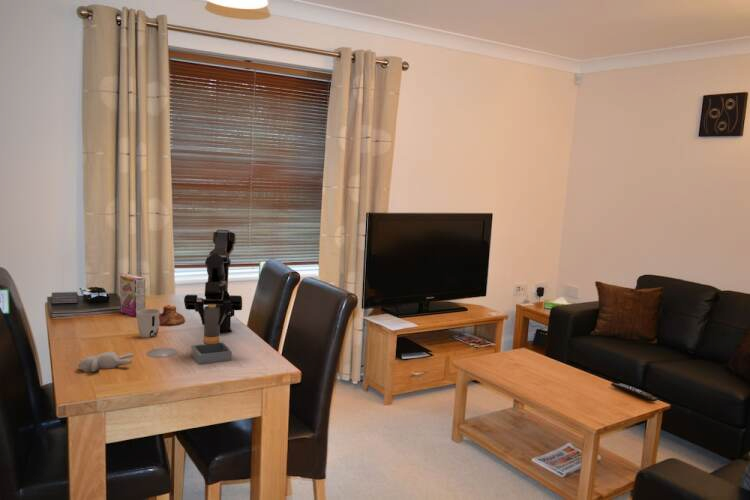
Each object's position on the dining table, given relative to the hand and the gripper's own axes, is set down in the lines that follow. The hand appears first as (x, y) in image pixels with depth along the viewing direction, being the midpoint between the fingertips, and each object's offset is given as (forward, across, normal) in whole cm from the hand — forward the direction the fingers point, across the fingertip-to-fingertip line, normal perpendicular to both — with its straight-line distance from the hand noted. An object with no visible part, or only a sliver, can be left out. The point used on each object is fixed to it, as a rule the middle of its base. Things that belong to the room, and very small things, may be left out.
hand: (211, 324), depth 187 cm
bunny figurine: (+14, -31, +4) cm, 34 cm away
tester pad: (+5, -17, +13) cm, 22 cm away
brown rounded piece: (-24, -22, +43) cm, 54 cm away
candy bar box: (-32, -39, +51) cm, 72 cm away
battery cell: (+4, 0, +6) cm, 7 cm away
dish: (+8, 0, +10) cm, 13 cm away
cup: (-9, -25, +27) cm, 38 cm away
